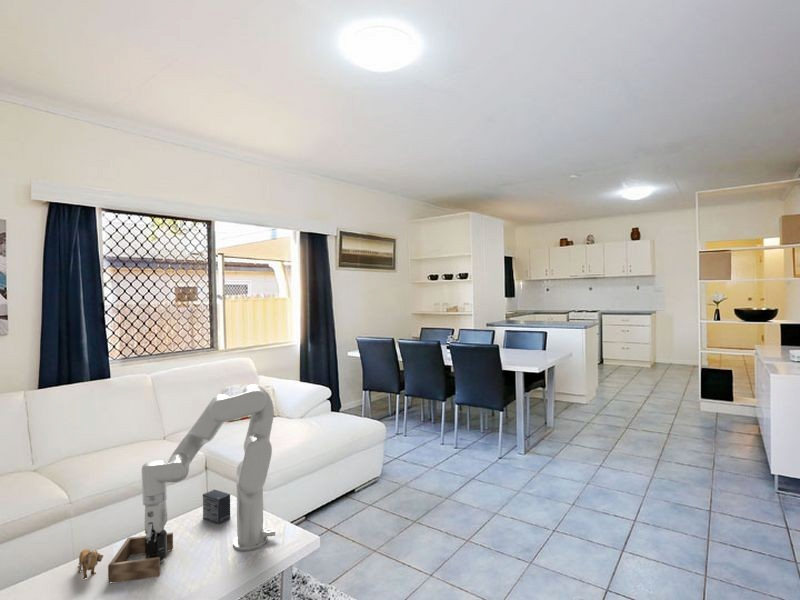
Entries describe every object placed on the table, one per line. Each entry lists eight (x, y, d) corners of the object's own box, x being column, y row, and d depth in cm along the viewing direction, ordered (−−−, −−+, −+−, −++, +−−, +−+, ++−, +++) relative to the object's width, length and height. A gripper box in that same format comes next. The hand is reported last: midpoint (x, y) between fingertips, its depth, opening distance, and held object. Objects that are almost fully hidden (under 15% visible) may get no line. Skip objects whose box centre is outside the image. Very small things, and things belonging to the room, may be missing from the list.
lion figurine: (105, 575, 150) (104, 549, 150) (87, 584, 146) (86, 557, 146) (87, 561, 159) (86, 536, 159) (69, 569, 154) (69, 543, 154)
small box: (231, 518, 189) (231, 493, 189) (218, 524, 183) (218, 499, 183) (215, 512, 194) (215, 488, 194) (202, 518, 189) (201, 494, 189)
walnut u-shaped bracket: (173, 548, 166) (172, 532, 166) (158, 576, 149) (158, 558, 149) (128, 554, 163) (128, 537, 163) (108, 583, 146) (108, 565, 146)
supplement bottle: (157, 565, 153) (156, 530, 153) (140, 563, 155) (139, 529, 154) (171, 553, 160) (170, 520, 160) (155, 551, 161) (154, 519, 161)
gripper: (158, 506, 149) (160, 559, 150) (173, 485, 166) (174, 532, 167) (134, 509, 148) (135, 562, 148) (151, 487, 165) (152, 535, 165)
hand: (156, 546), depth 157 cm, fingers closed on supplement bottle, 6 cm apart
